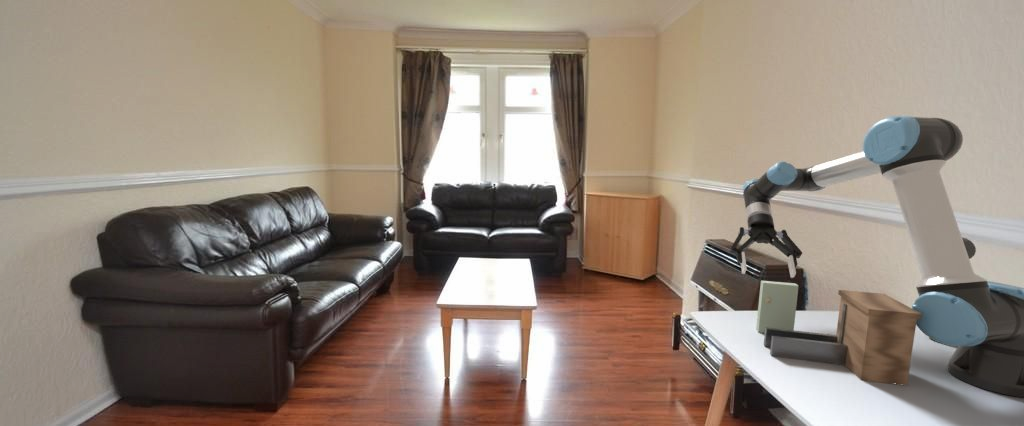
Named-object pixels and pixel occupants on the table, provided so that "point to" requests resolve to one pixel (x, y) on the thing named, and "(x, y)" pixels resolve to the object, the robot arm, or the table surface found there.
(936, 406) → the table surface
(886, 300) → the walnut cabinet
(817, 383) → the table surface
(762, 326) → the cabinet door
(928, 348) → the table surface
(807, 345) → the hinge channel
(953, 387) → the table surface
